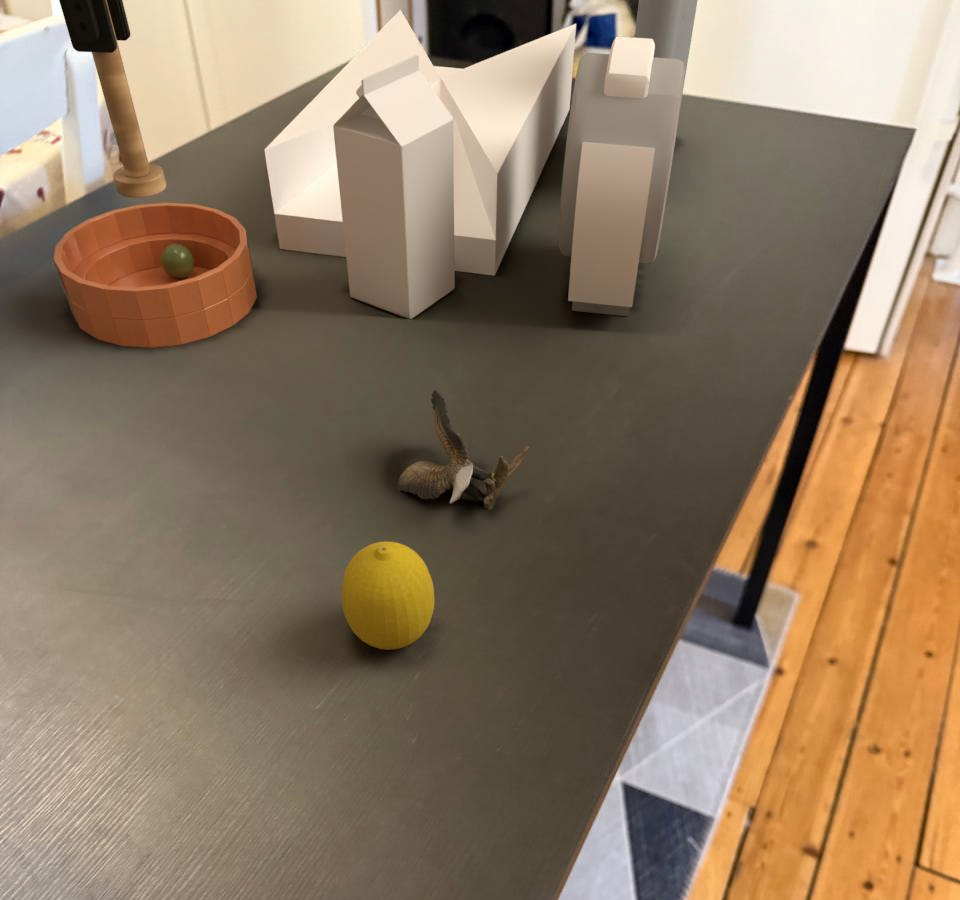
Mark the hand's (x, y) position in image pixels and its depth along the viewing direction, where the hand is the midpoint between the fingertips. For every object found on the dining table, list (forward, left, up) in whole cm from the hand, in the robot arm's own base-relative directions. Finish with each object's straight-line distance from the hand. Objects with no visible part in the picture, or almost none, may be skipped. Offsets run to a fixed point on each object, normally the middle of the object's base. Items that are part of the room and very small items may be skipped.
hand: (102, 42), depth 68 cm
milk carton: (+21, +5, -21) cm, 30 cm away
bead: (0, +4, -19) cm, 19 cm away
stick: (0, 0, -11) cm, 11 cm away
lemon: (+27, -38, -21) cm, 51 cm away
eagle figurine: (+29, -23, -21) cm, 43 cm away
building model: (+21, +33, -21) cm, 45 cm away
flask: (+44, +36, -21) cm, 61 cm away
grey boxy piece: (+40, +9, -21) cm, 46 cm away
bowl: (0, 0, -21) cm, 21 cm away
